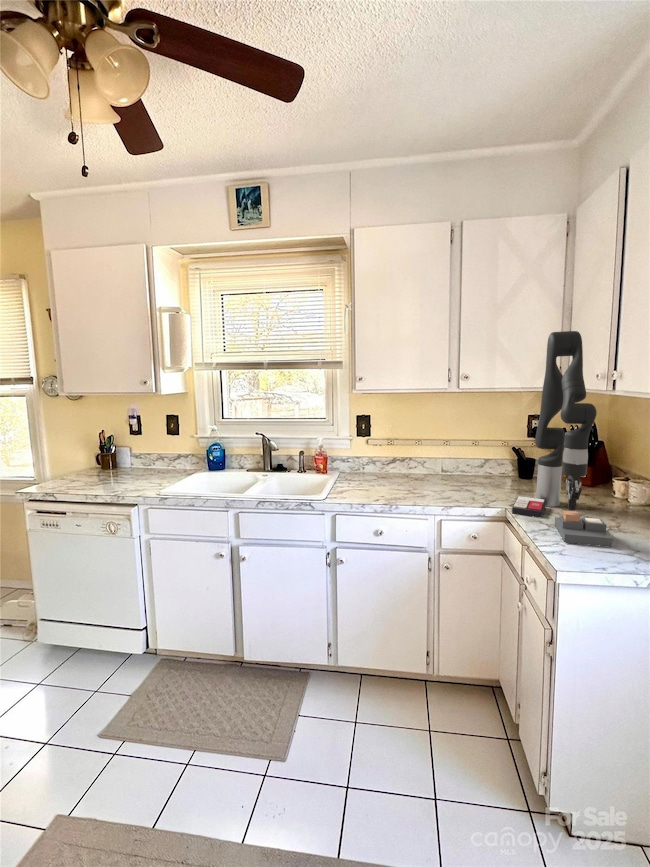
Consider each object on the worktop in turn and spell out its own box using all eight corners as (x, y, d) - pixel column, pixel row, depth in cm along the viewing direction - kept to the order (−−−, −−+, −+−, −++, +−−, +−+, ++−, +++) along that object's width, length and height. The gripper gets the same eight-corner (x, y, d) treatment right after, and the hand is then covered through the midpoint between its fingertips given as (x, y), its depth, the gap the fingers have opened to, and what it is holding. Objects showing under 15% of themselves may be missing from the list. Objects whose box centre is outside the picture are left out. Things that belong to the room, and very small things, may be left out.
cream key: (584, 524, 157) (584, 517, 157) (598, 525, 156) (599, 518, 155) (587, 528, 153) (588, 521, 153) (602, 530, 152) (602, 523, 151)
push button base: (554, 524, 166) (555, 510, 166) (596, 528, 162) (597, 513, 161) (564, 542, 149) (565, 526, 149) (612, 547, 145) (613, 531, 144)
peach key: (562, 517, 159) (563, 510, 159) (576, 518, 158) (577, 511, 157) (565, 521, 155) (565, 514, 154) (579, 522, 153) (580, 515, 153)
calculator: (512, 505, 180) (517, 494, 192) (511, 515, 180) (517, 504, 193) (542, 509, 174) (545, 498, 187) (541, 520, 175) (545, 508, 187)
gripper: (559, 457, 161) (556, 503, 163) (566, 464, 148) (563, 514, 150) (582, 458, 158) (579, 505, 161) (592, 465, 146) (588, 516, 148)
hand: (571, 509), depth 156 cm, fingers closed
